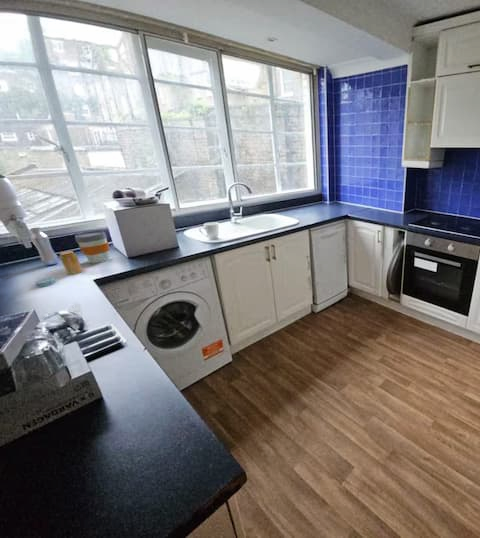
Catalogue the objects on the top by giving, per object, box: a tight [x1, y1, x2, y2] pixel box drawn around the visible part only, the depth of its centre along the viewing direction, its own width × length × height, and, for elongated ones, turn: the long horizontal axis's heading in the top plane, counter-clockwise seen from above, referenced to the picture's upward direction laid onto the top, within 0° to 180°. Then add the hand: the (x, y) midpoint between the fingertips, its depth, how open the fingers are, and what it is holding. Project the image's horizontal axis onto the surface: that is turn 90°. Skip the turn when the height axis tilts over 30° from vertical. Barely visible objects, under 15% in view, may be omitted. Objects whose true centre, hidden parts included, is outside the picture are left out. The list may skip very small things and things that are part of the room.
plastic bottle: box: [29, 226, 60, 266], centre depth 154 cm, size 6×7×20 cm
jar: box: [59, 250, 84, 276], centre depth 145 cm, size 6×6×10 cm
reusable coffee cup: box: [74, 230, 111, 264], centre depth 159 cm, size 12×13×15 cm
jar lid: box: [34, 277, 56, 288], centre depth 134 cm, size 6×6×2 cm
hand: (26, 245), depth 127 cm, fingers open, 8 cm apart
